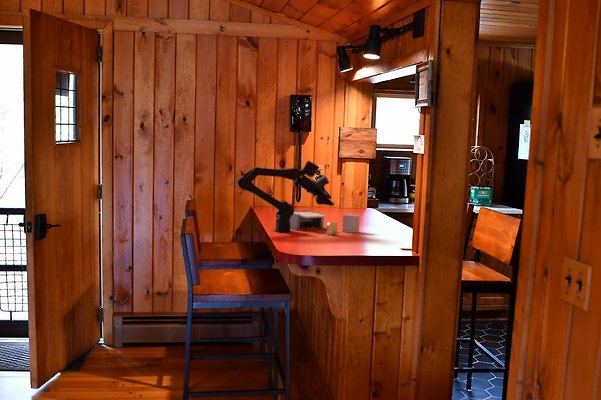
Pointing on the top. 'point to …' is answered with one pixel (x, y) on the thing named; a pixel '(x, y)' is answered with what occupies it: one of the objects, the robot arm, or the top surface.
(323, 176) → the robot arm
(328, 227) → the cylinder
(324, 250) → the top surface
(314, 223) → the trapdoor stand
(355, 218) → the medicine box
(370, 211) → the top surface
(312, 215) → the trapdoor flap
